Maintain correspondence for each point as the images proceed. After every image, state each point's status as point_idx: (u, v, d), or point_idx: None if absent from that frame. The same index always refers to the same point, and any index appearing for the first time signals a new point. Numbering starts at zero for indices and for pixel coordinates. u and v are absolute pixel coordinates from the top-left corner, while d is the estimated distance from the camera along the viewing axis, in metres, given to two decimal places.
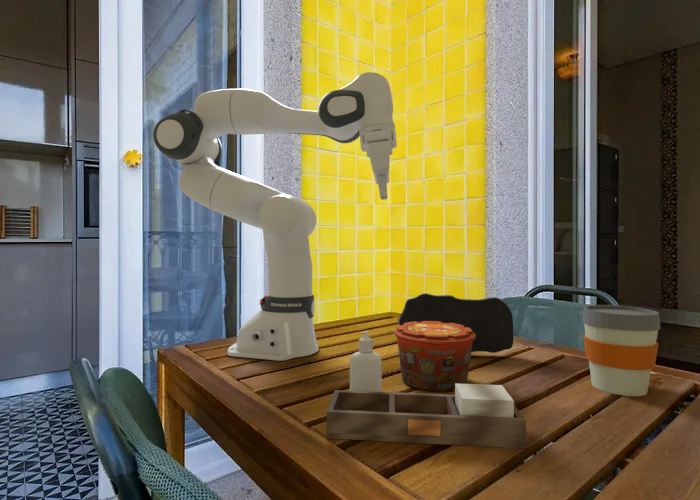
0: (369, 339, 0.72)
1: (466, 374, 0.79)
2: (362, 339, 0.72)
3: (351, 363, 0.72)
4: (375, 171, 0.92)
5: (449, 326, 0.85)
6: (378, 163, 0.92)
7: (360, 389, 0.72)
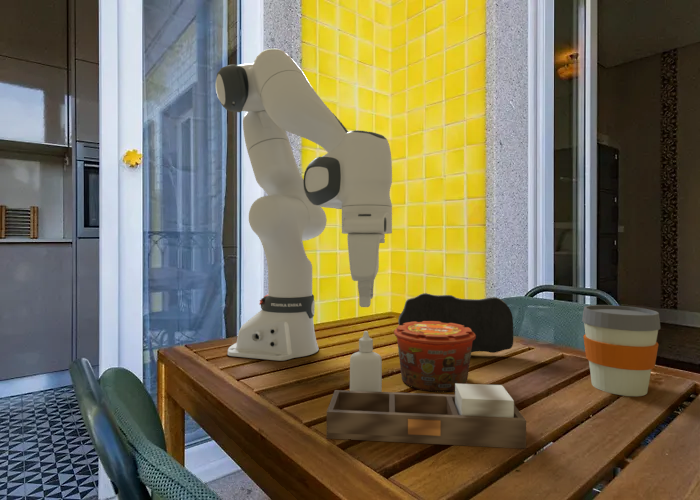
0: (369, 339, 0.72)
1: (466, 374, 0.79)
2: (362, 339, 0.72)
3: (351, 363, 0.72)
4: (354, 278, 0.63)
5: (449, 326, 0.85)
6: (360, 268, 0.63)
7: (360, 389, 0.72)
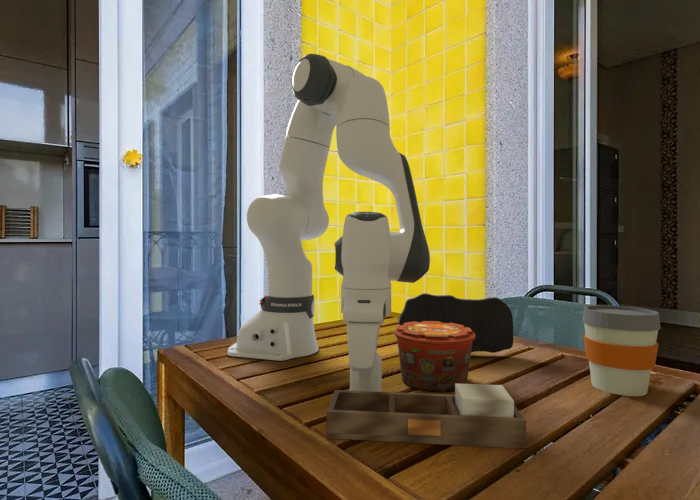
0: None
1: (466, 374, 0.79)
2: None
3: None
4: (353, 369, 0.64)
5: (449, 326, 0.85)
6: (359, 360, 0.63)
7: (360, 389, 0.72)
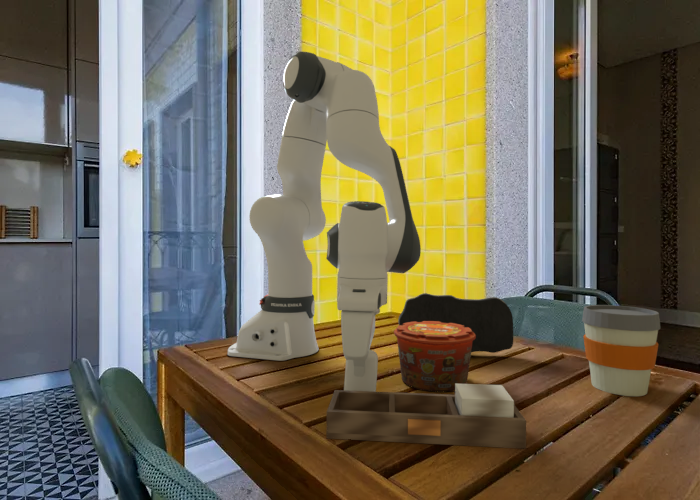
0: None
1: (466, 374, 0.79)
2: None
3: None
4: (347, 358, 0.64)
5: (449, 326, 0.85)
6: (352, 348, 0.63)
7: (355, 386, 0.72)
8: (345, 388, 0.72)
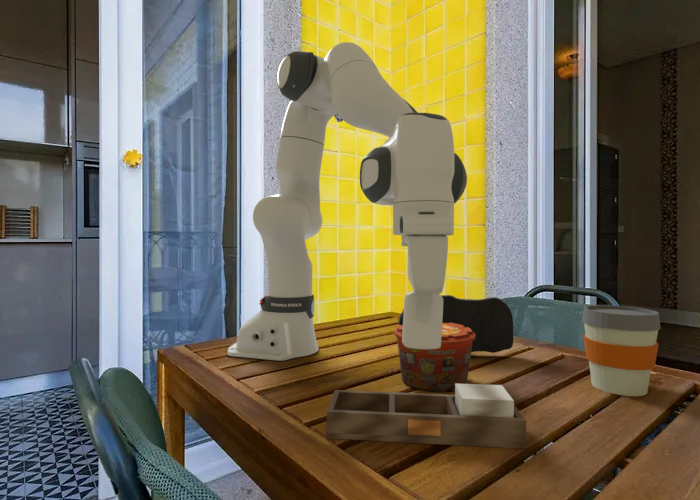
0: None
1: (466, 374, 0.79)
2: None
3: (408, 302, 0.60)
4: (418, 291, 0.52)
5: (449, 326, 0.85)
6: (425, 278, 0.51)
7: (418, 333, 0.60)
8: (405, 337, 0.60)
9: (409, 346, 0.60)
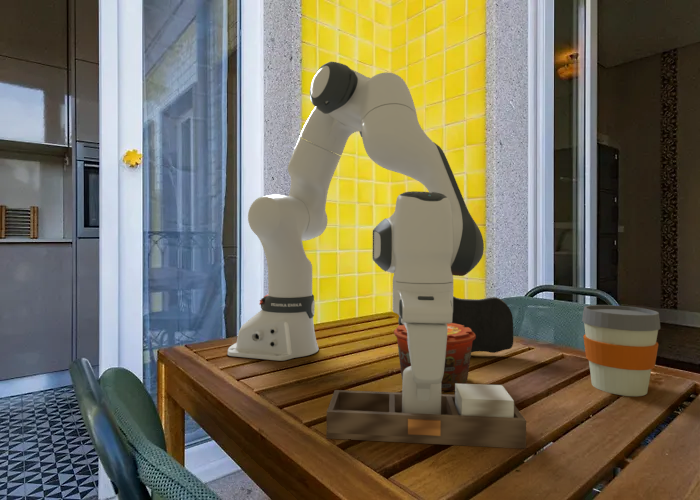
0: None
1: (466, 374, 0.79)
2: None
3: (406, 380, 0.60)
4: (417, 381, 0.52)
5: (449, 326, 0.85)
6: (424, 370, 0.51)
7: (417, 411, 0.60)
8: None
9: None
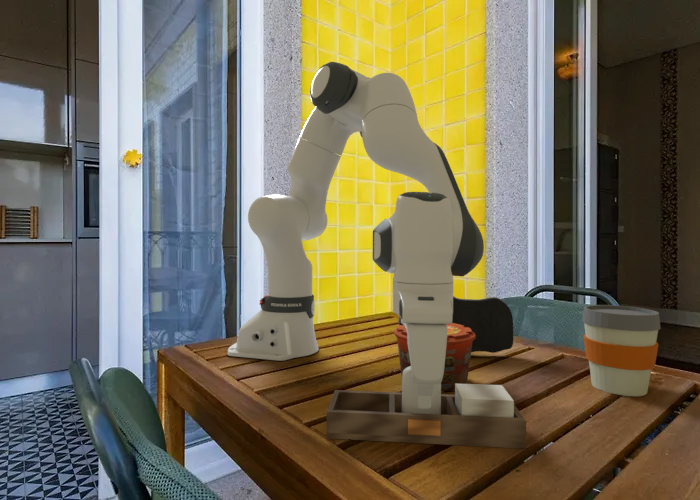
0: None
1: (466, 374, 0.79)
2: None
3: (406, 380, 0.60)
4: (417, 381, 0.52)
5: (449, 326, 0.85)
6: (424, 370, 0.51)
7: (417, 411, 0.60)
8: None
9: None
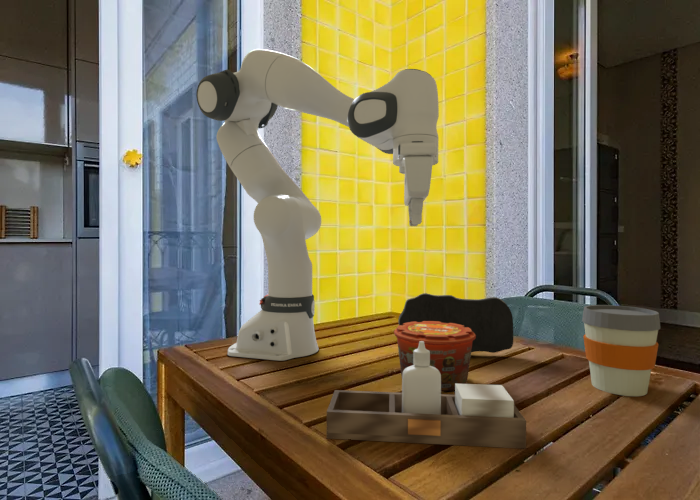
0: (426, 351, 0.61)
1: (466, 374, 0.79)
2: (418, 351, 0.61)
3: (406, 380, 0.60)
4: (411, 194, 0.72)
5: (449, 326, 0.85)
6: (416, 184, 0.72)
7: (417, 411, 0.60)
8: None
9: None
